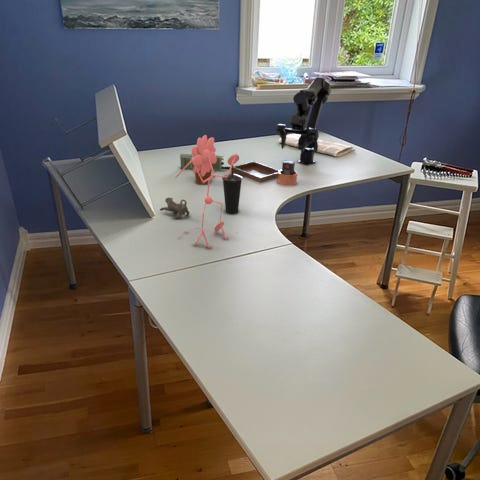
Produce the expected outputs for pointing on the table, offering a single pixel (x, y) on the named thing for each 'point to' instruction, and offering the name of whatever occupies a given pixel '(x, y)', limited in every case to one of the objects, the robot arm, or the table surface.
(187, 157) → the handheld radio
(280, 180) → the holder cup
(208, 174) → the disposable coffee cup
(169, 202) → the dog figurine
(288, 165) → the dark grey block
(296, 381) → the table surface
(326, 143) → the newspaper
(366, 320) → the table surface
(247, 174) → the tray
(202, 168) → the figurine
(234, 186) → the drinking cup
